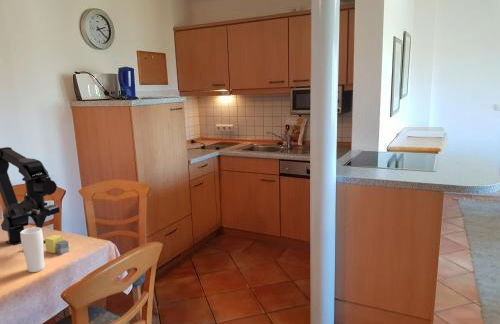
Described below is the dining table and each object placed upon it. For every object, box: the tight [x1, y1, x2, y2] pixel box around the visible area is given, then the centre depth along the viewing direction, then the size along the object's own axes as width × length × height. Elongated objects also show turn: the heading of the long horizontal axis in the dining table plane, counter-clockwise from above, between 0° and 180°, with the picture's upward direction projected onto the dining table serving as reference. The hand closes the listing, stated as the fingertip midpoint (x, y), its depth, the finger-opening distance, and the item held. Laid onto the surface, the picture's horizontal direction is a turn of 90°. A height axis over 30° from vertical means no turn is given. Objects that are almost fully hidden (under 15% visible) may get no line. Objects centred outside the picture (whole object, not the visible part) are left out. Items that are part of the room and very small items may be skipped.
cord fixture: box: [43, 239, 70, 256], centre depth 148 cm, size 18×6×4 cm, turn 68°
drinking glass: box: [20, 226, 45, 273], centre depth 131 cm, size 7×7×15 cm
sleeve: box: [44, 234, 64, 254], centre depth 147 cm, size 4×4×6 cm
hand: (39, 228), depth 148 cm, fingers closed
